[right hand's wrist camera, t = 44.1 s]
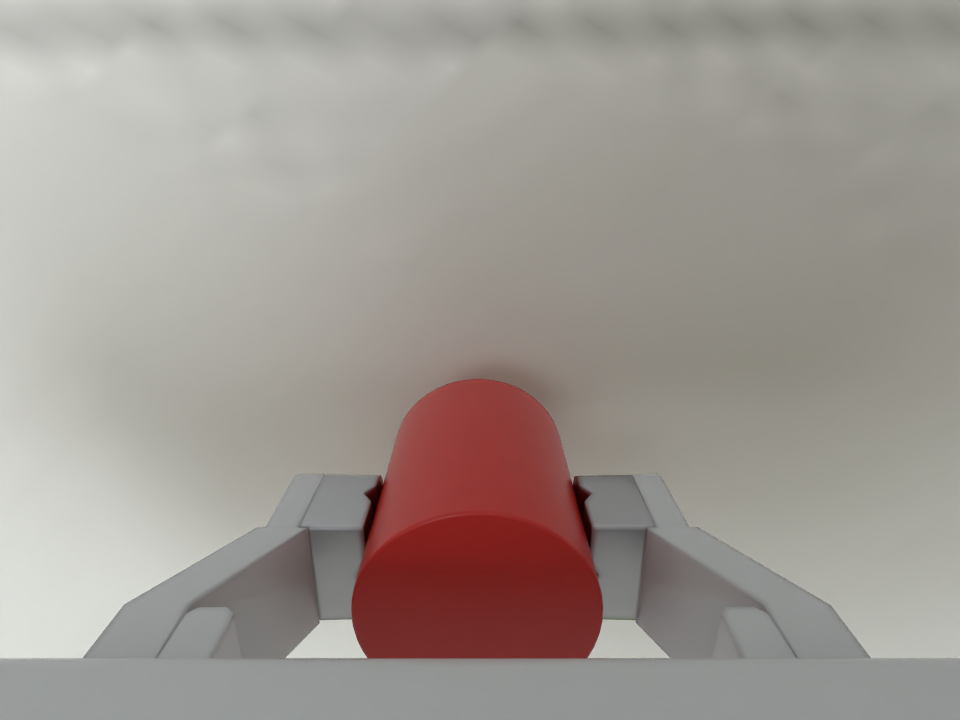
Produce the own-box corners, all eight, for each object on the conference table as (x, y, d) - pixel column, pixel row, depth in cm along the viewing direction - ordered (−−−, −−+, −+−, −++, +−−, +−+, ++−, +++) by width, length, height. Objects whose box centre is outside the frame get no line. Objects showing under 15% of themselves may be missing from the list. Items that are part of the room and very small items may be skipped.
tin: (514, 349, 11) (535, 469, 7) (588, 484, 12) (643, 658, 8) (363, 424, 12) (300, 577, 8) (446, 546, 13) (430, 740, 9)
